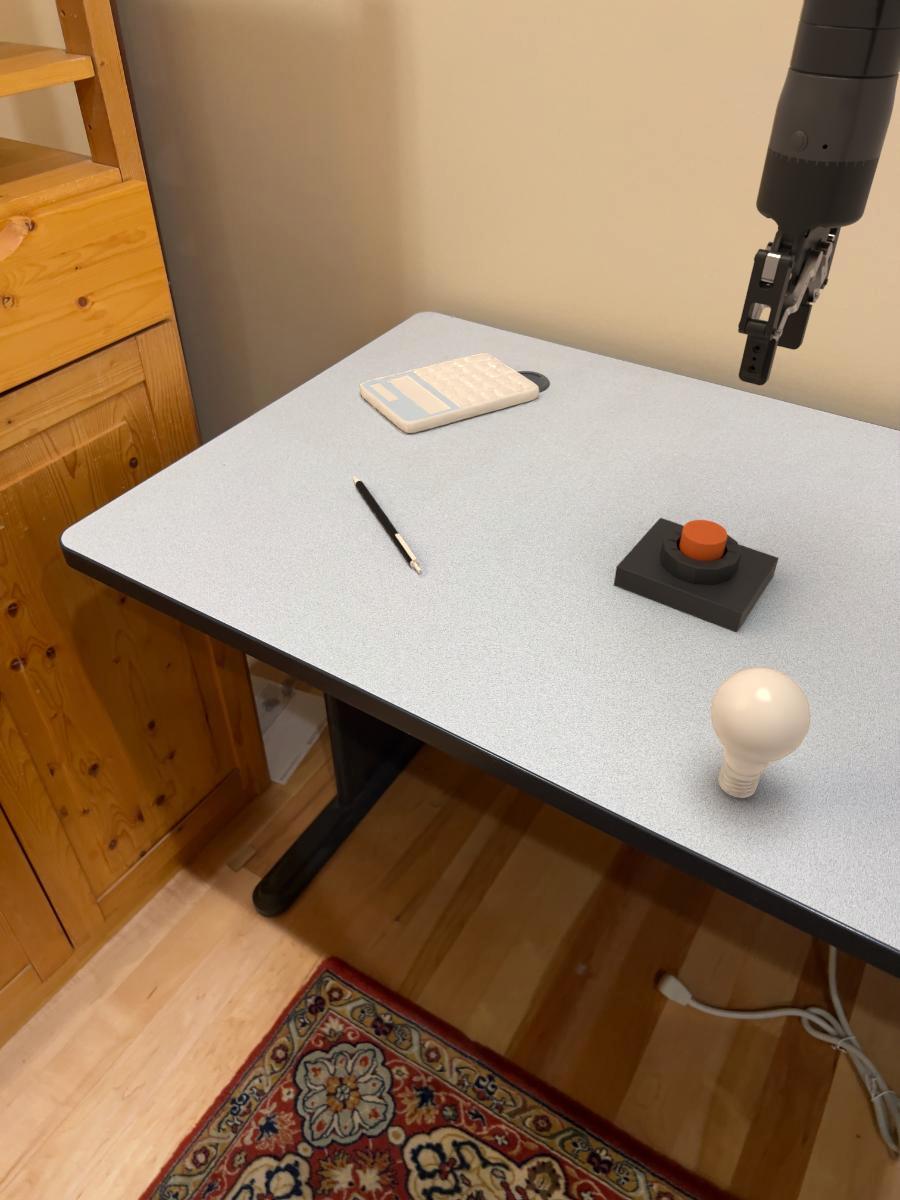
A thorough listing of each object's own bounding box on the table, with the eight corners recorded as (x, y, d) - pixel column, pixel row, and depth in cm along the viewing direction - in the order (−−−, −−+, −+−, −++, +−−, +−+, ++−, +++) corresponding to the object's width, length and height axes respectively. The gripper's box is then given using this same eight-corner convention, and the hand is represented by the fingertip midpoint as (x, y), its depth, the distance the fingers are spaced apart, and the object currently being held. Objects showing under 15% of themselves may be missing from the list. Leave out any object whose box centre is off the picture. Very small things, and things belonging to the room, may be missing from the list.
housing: (773, 576, 84) (783, 541, 82) (736, 632, 78) (746, 597, 75) (656, 535, 89) (663, 502, 87) (613, 585, 83) (618, 550, 80)
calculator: (542, 399, 113) (543, 385, 112) (406, 437, 105) (405, 422, 104) (485, 361, 122) (486, 348, 121) (356, 394, 114) (355, 380, 113)
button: (729, 546, 82) (734, 528, 81) (713, 567, 79) (718, 549, 78) (688, 532, 84) (692, 514, 82) (672, 553, 81) (675, 534, 80)
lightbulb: (791, 778, 65) (833, 670, 58) (765, 839, 61) (807, 730, 54) (708, 743, 68) (738, 635, 61) (677, 799, 63) (707, 690, 57)
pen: (416, 576, 84) (415, 567, 83) (350, 481, 98) (349, 472, 97) (424, 574, 84) (424, 564, 84) (357, 479, 98) (357, 470, 97)
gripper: (852, 172, 56) (788, 408, 66) (904, 133, 65) (841, 345, 75) (737, 156, 59) (693, 383, 69) (802, 121, 68) (755, 325, 78)
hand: (770, 363), depth 72 cm, fingers open, 8 cm apart
